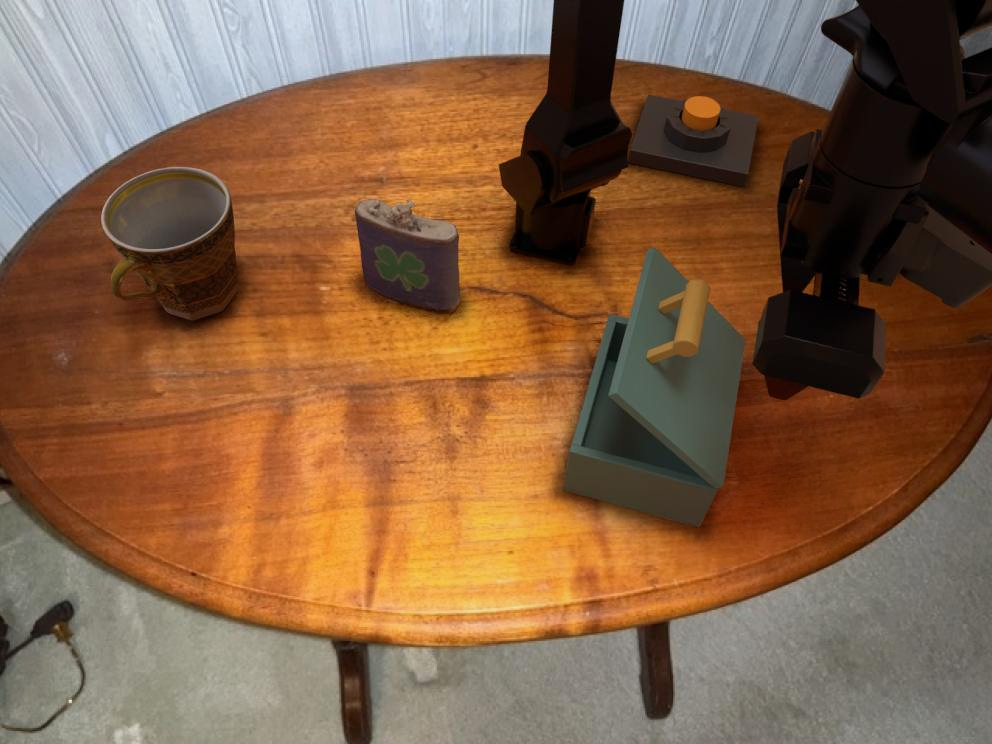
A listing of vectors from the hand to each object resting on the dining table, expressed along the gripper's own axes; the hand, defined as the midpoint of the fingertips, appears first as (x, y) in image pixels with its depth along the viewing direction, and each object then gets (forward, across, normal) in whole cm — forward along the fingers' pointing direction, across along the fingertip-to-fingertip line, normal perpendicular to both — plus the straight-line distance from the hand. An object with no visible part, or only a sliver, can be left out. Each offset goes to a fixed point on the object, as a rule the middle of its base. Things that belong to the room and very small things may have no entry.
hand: (784, 342), depth 54 cm
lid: (+3, -1, +6) cm, 7 cm away
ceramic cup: (+13, 0, +48) cm, 50 cm away
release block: (+13, +36, +9) cm, 39 cm away
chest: (+13, -1, +7) cm, 15 cm away
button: (+10, +36, +9) cm, 38 cm away
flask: (+13, +7, +30) cm, 33 cm away
